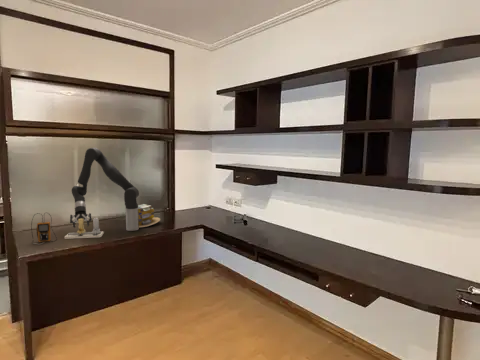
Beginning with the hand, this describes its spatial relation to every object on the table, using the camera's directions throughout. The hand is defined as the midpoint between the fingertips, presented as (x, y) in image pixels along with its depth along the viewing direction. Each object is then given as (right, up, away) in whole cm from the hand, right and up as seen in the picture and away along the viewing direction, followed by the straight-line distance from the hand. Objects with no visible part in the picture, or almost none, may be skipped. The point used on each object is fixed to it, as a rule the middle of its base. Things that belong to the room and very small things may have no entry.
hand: (81, 226), depth 236 cm
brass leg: (0, -5, 0) cm, 5 cm away
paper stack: (+35, -4, +38) cm, 52 cm away
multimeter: (-18, -9, -15) cm, 25 cm away
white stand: (+2, -7, +2) cm, 7 cm away
